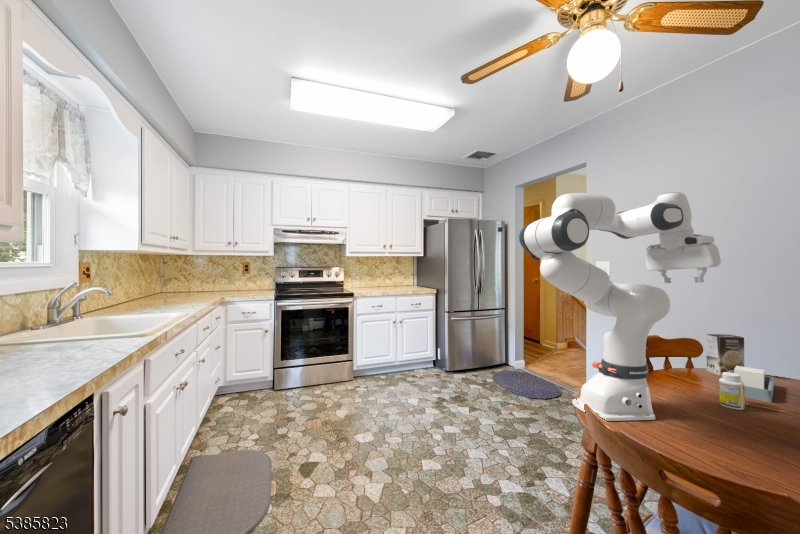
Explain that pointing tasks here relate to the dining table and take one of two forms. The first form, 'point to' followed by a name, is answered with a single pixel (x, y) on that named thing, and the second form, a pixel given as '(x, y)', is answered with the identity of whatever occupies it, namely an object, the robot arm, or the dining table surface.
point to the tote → (760, 390)
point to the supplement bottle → (731, 391)
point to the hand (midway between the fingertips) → (682, 282)
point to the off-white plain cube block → (751, 376)
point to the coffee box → (724, 353)
